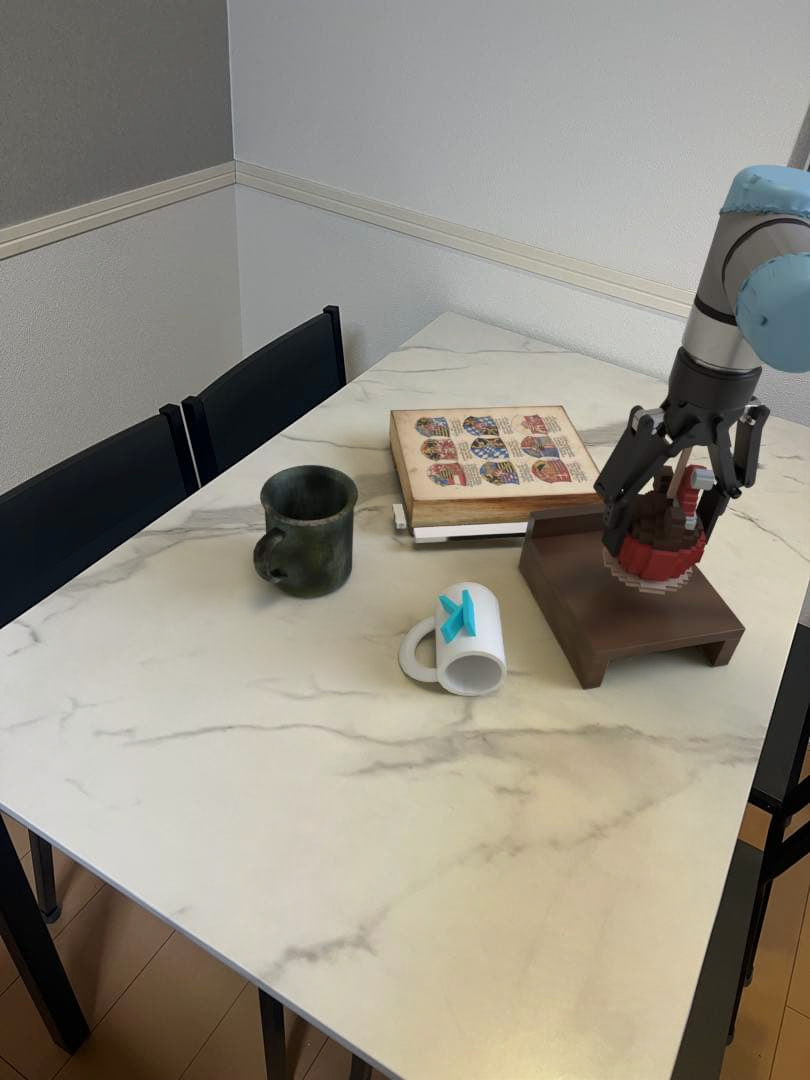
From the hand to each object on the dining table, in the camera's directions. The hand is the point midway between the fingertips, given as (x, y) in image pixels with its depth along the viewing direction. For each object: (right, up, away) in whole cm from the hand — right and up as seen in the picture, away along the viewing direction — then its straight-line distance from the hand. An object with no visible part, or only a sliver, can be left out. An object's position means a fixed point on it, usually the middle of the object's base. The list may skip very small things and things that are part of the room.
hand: (654, 542), depth 86 cm
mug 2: (-22, -12, +3) cm, 26 cm away
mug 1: (-39, -4, +11) cm, 41 cm away
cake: (0, -3, +2) cm, 4 cm away
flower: (+26, +13, +39) cm, 49 cm away
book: (-16, +7, +27) cm, 32 cm away
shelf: (-1, -9, +10) cm, 13 cm away
